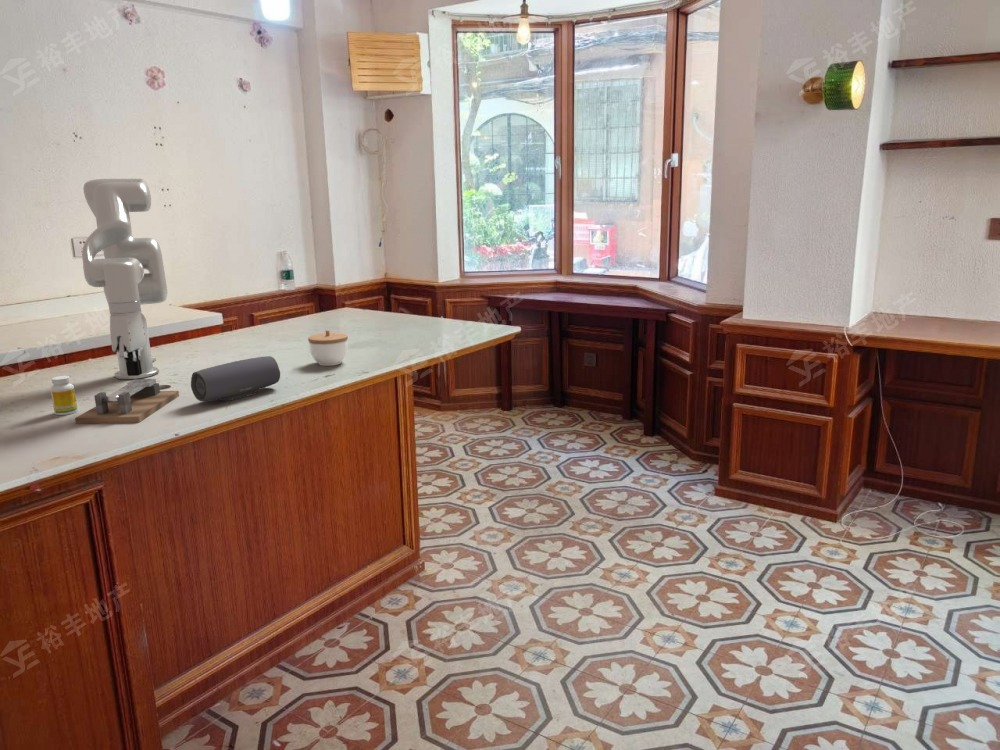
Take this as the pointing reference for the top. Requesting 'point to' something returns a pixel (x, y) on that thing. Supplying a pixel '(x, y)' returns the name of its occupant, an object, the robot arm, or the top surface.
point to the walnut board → (125, 408)
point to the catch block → (148, 391)
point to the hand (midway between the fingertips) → (135, 374)
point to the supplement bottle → (63, 396)
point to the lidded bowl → (328, 348)
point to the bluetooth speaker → (234, 379)
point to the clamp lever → (129, 389)
